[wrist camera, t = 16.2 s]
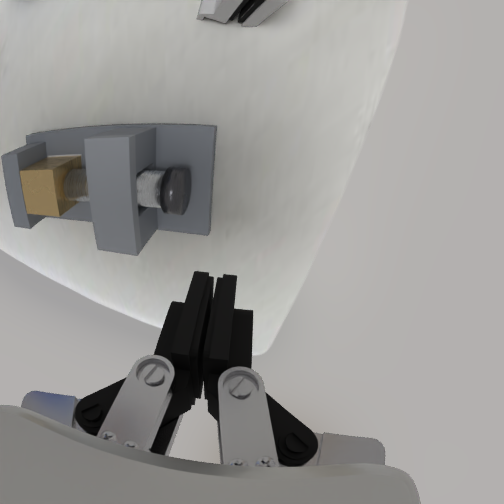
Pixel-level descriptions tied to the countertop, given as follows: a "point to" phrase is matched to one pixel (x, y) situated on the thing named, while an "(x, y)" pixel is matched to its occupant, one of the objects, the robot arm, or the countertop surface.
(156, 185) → the shaft
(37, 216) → the grey u-shaped stand
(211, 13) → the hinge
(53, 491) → the robot arm
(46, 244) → the countertop surface
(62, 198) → the block
